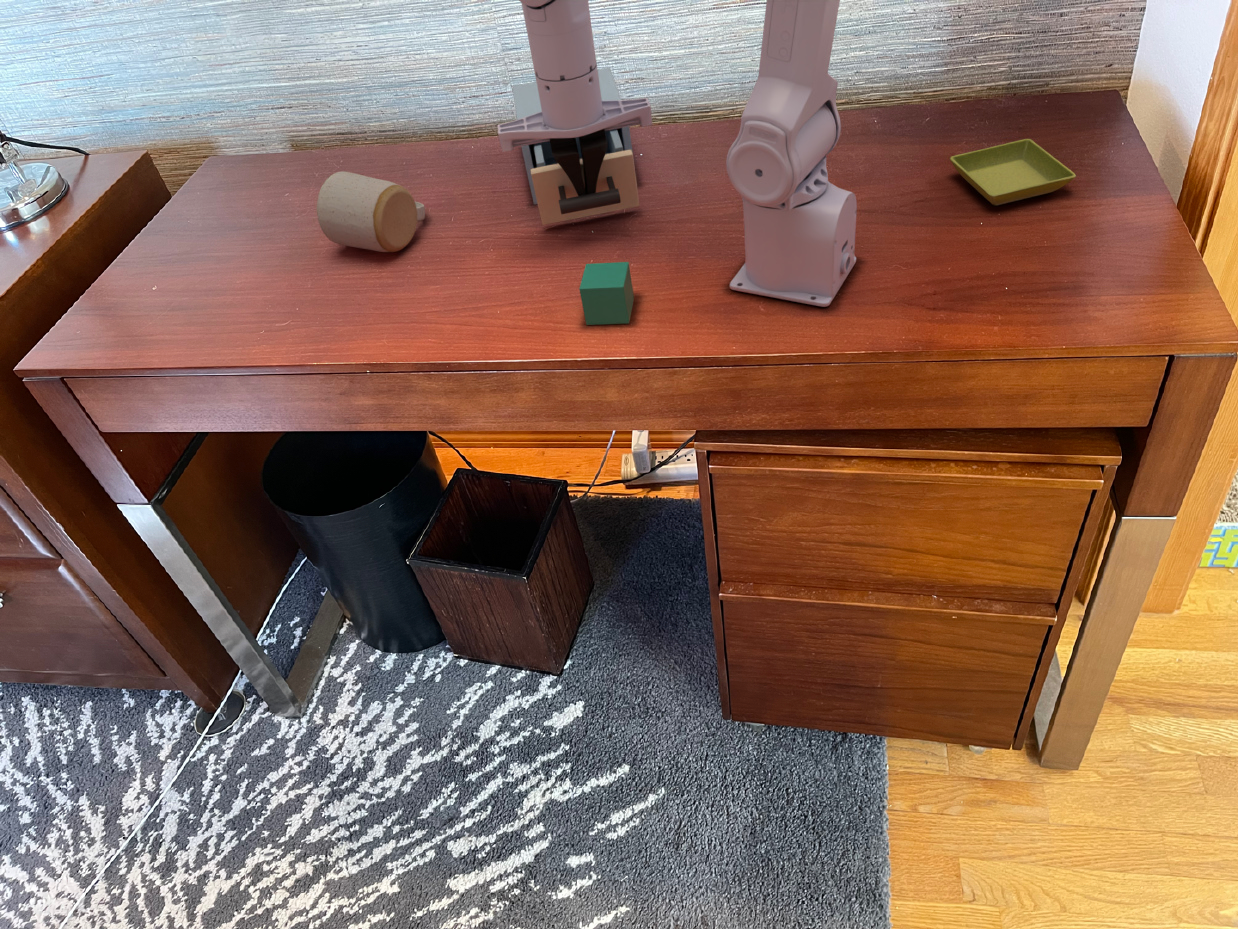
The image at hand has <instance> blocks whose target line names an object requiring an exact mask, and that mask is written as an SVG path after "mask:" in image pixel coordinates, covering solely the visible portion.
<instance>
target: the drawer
mask: <svg viewBox="0 0 1238 929" xmlns="http://www.w3.org/2000/svg"><path fill="white" fill-rule="evenodd" d="M605 135H606V139H607V150H606V154H605V156H604V159H603V162H602V165H601V168H600V171H599V176H598V180H597V186H596V193H592V194H587V195H582V196H578V194H577V192H576V190H575V188H574V186H573V184H572V182H571V181H570V179H569V177H568V176H567V174H566V173H565V172H564V170H563V169H562V167H561V166H560V165H559V164H558V163H557V161H556V160H555V158H554V156H553V154H552V149H551V144H550V141H546V142H541V143H535V144H533V145H534V151H535V157H536V163H537V168H533V169H531V176H532V180H533V185H534V190H535V194H536V199H537V203H538V204H537V207H538V213H539V217H540V221H541V225H542V226H546V225H550V224H555V223H561V222H567V221H571V220H576V219H582V218H585V217H586V218H587V217H592V216H596V215H601V214H606V213H611V212H616V211H617V212H618V211H621V210H622V211H623V210H628V209H631V208H632V209H633V208H638V207H640V199H639V190H638V183H636V182H637V174H636V168H635V159H634V153H633V154H632V151H633V150H632V151H631V150H625V151H623V146H622V143H621V140H620V137H619V134H618V131H617V129H613V130H607V131H605ZM575 139H576V143H577V148H578V153H579V158H580V165H581V172H582V178H583V182H584V186H585V180H584V167H583V160H582V154H581V148H580V143H579V137H575ZM633 159H634V160H633ZM635 174H636V175H635Z"/></svg>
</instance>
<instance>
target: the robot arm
mask: <svg viewBox="0 0 1238 929" xmlns="http://www.w3.org/2000/svg"><path fill="white" fill-rule="evenodd" d="M518 1H519V2H521V8H522V13H523V19H524V23H525V29H526V34H527V39H528V45H529V50H530V55H531V56H530V57H531V60H532V66H533V71H534V76H535V82H537V87H538V93H539V98H540V104H541V109H542V111H541V112H538V113H536V114H533V115H530V116H527V117H524V118H521V119H518V120H517V119H515V120H512V121H508V122H504V123H499V124H497V135H498V140H499V143H500V149H501V152H502V153H508V152H512V151H514V148H518V147H521V146H524V145H530V144H535V143H541V142H546V141H550V144H551V149H552V154H553V156H554V158H555V160H556V161H557V163H558V164H559V165H560V166H561V167H562V169H563V170H564V172H565V173H566V174H567V176H568V177H569V179H570V181H571V182H572V184H573V186H574V188H575V190H576V192H577V194H578V196H582V195H587V194H592V193H596V186H597V180H598V176H599V171H600V168H601V165H602V162H603V159H604V156H605V154H606V150H607V139H606V135H605V131H607V130H613V129H618V128H624V127H629V128H630V127H634V126H640V127H641V128H645V127H646V128H647V127H652V126H653V116H652V115H653V114H652V107H651V104H650V101H649V99H648V97H643V98H636V99H621V100H608V101H602V98H601V91H600V84H599V76H598V69H599V68H598V63H597V56H596V49H595V42H594V34H593V28H592V27H593V26H592V21H591V12H590V4H589V0H518ZM840 2H841V0H766V3H765V11H764V21H763V30H762V40H761V48H760V58H759V66H758V76H757V78H756V82H755V84H754V86H753V89H752V91H751V93H750V95H749V98H748V99H747V102H746V104H745V107H744V109H743V110H742V114H741V119H740V126H739V132H738V135H737V136H736V139H735V140H734V141H733V143H732V144H731V145H730V146H729V149H728V151H727V155H726V160H725V164H726V165H725V167H726V172H727V176H728V179H729V182H730V183H731V185H732V187H733V188H734V190H735V191H736V193H738V194H739V196H741V201H742V209H743V210H742V211H743V233H744V234H743V235H744V258H745V262H744V263H743V265H742V266H741V268H740V269H739V270H738V271H737V273H736V274H735V275H734V277H733V278H732V280H730V282H729V289H731V290H732V291H737V292H743V293H748V294H753V295H759V296H764V297H769V298H774V299H778V300H779V299H780V300H783V301H791V302H796V303H801V304H805V305H806V304H807V305H811V306H816V307H822V308H826V307H829V306H830V305H831V304H832V302H833V300H834V299H835V297H836V295H837V294H838V292H839V290H840V289H841V287H842V286H843V284H844V282H845V281H846V279H847V277H848V275H849V274H850V272H851V271H852V270H853V267H854V266H855V264H856V262H857V257H856V255H855V248H856V232H857V231H856V230H857V229H856V228H857V214H858V212H857V211H858V203H857V196H856V194H855V193H854V192H852V191H850V190H846V189H843V188H841V187H838V186H837V185H835V184H833V183H832V182H830V181H829V173H828V168H827V155H829V153H831V152H832V151H833V150H834V148H835V147H836V146H837V144H838V142H839V139H840V137H841V132H842V122H841V117H840V114H839V111H838V106H837V92H838V86H839V83H838V80H837V79H836V78H834V77H833V76H832V75H831V74H830V73H829V68H830V62H831V55H832V50H833V44H834V38H835V32H836V26H837V20H838V14H839V7H840ZM575 137H579V143H580V148H581V154H582V160H583V167H584V180H585V186H584V182H583V178H582V172H581V165H580V158H579V153H578V148H577V143H576V139H575Z"/></svg>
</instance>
